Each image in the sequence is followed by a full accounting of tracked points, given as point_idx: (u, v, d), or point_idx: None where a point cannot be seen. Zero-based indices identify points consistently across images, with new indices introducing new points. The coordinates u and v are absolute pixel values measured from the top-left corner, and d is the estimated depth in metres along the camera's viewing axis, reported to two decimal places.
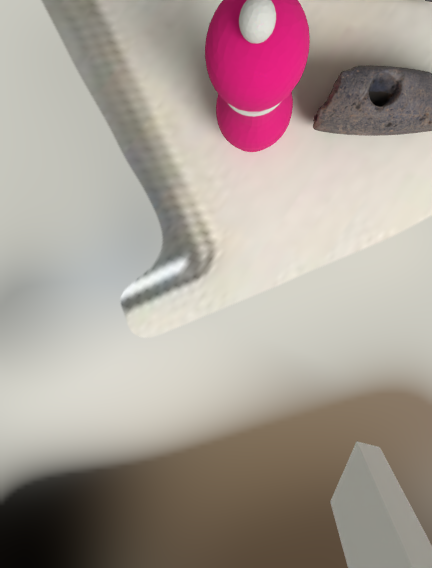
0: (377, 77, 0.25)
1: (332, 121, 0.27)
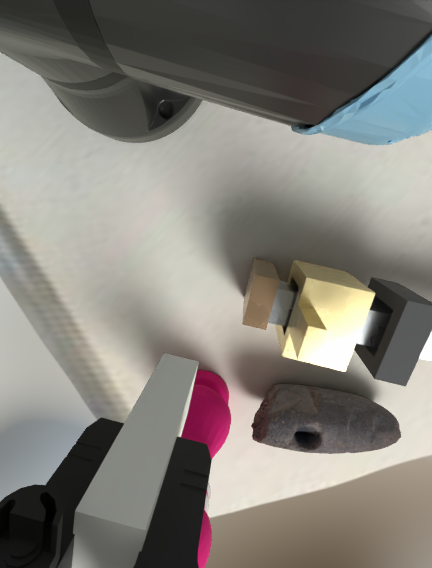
0: (301, 426, 0.28)
1: None
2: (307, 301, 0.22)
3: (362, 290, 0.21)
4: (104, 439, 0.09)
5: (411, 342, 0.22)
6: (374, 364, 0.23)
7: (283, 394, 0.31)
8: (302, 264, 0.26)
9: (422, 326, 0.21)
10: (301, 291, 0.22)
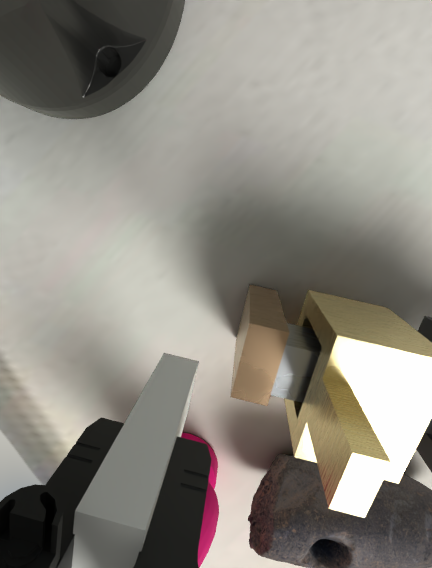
0: (320, 537, 0.19)
1: None
2: (338, 374, 0.13)
3: None
4: (104, 439, 0.09)
5: None
6: None
7: (292, 477, 0.22)
8: (322, 299, 0.17)
9: None
10: (327, 357, 0.13)
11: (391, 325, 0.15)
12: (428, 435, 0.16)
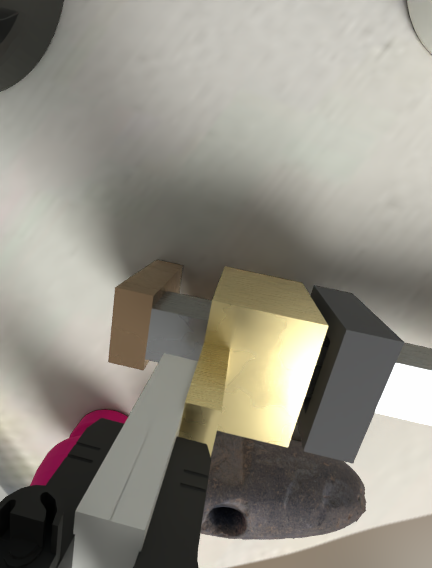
0: (217, 504, 0.19)
1: None
2: (217, 339, 0.13)
3: (306, 321, 0.13)
4: (104, 439, 0.09)
5: (357, 396, 0.13)
6: (305, 426, 0.15)
7: None
8: (232, 274, 0.17)
9: (373, 370, 0.13)
10: (208, 322, 0.13)
11: (287, 295, 0.15)
12: None
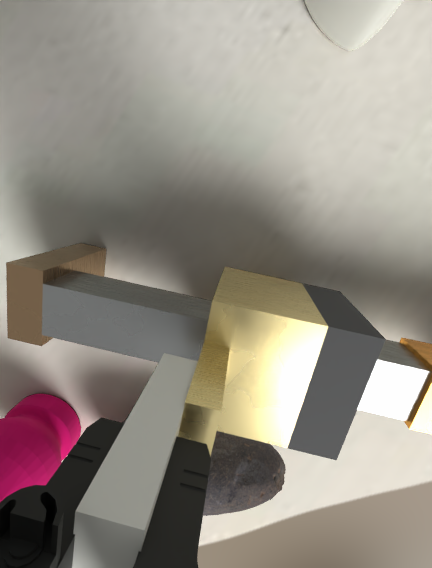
0: None
1: None
2: (217, 339, 0.13)
3: (306, 321, 0.13)
4: (104, 439, 0.09)
5: (339, 393, 0.13)
6: None
7: None
8: (232, 274, 0.17)
9: (355, 367, 0.13)
10: (208, 322, 0.13)
11: (287, 296, 0.15)
12: None
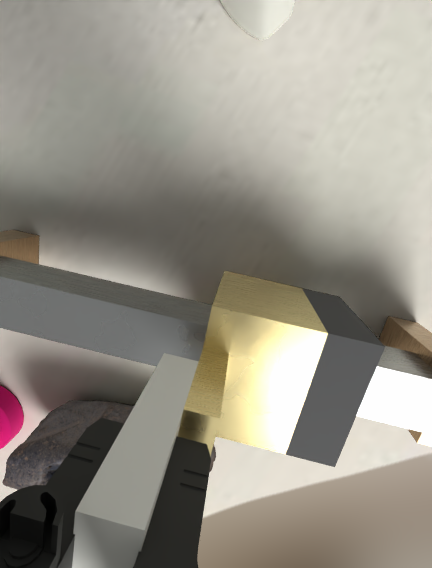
0: (52, 464, 0.20)
1: None
2: (217, 344, 0.13)
3: (306, 328, 0.13)
4: (104, 439, 0.09)
5: (338, 400, 0.13)
6: None
7: (57, 416, 0.22)
8: (232, 278, 0.17)
9: (354, 374, 0.13)
10: None
11: (287, 301, 0.15)
12: None
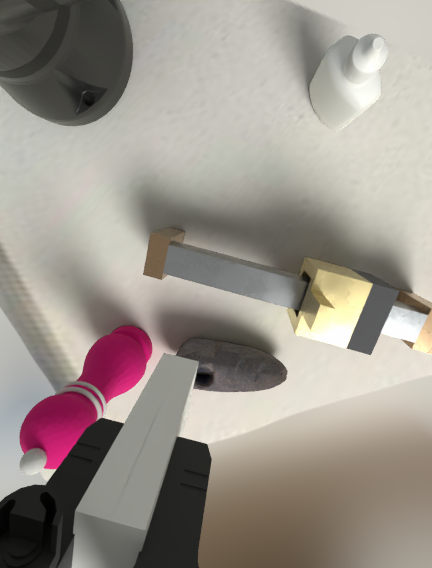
0: None
1: None
2: (318, 288, 0.27)
3: (362, 281, 0.27)
4: (104, 439, 0.09)
5: (375, 318, 0.27)
6: None
7: (190, 344, 0.36)
8: (313, 260, 0.31)
9: (384, 304, 0.27)
10: (313, 280, 0.27)
11: (347, 272, 0.29)
12: None
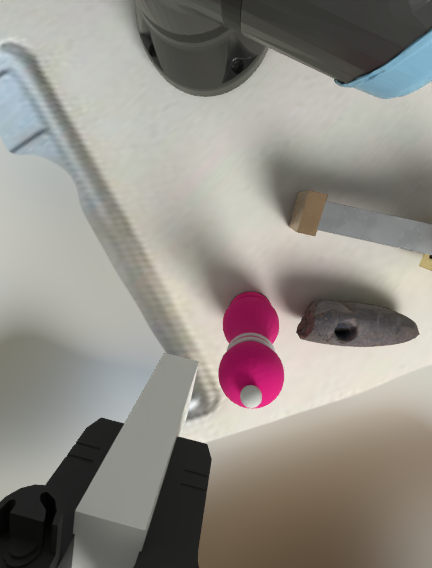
0: (340, 322, 0.35)
1: (309, 340, 0.37)
2: None
3: None
4: (104, 439, 0.09)
5: None
6: None
7: (322, 304, 0.38)
8: None
9: None
10: None
11: None
12: None
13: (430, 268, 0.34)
